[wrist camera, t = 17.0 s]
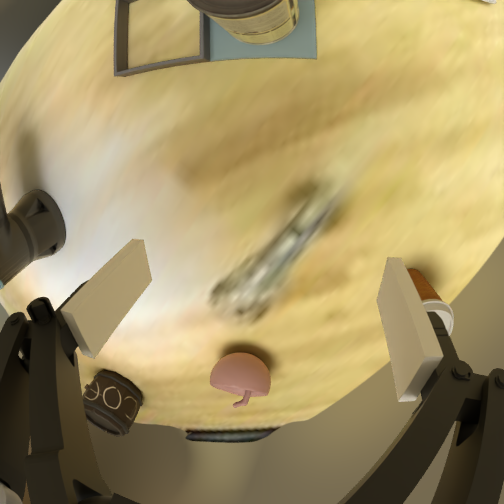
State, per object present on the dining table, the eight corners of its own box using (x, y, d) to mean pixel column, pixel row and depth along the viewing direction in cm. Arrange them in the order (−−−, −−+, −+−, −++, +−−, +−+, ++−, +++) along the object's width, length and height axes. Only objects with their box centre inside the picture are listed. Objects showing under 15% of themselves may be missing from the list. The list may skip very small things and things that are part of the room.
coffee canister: (106, 360, 71) (81, 400, 58) (153, 396, 76) (134, 437, 62) (90, 374, 79) (68, 407, 66) (130, 405, 84) (113, 439, 70)
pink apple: (220, 371, 62) (207, 411, 52) (216, 336, 56) (199, 380, 46) (272, 379, 60) (265, 421, 50) (275, 344, 54) (267, 391, 45)
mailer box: (125, 76, 35) (114, 76, 32) (126, 1, 28) (116, -3, 25) (316, 59, 30) (317, 55, 27) (312, -26, 23) (312, -34, 21)
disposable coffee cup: (375, 270, 43) (391, 321, 33) (428, 252, 40) (456, 297, 29) (386, 312, 47) (398, 363, 36) (433, 296, 43) (455, 343, 33)
